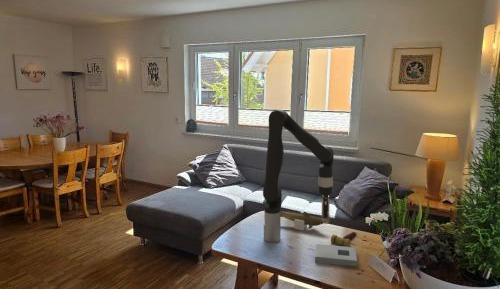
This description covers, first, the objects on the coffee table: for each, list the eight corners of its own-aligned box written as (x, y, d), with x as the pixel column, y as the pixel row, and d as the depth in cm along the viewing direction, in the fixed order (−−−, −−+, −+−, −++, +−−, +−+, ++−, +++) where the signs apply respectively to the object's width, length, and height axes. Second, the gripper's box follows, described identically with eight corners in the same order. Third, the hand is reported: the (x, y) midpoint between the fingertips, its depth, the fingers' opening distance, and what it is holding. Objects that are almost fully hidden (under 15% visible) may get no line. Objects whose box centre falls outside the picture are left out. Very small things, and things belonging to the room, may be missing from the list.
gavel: (348, 226, 196) (364, 231, 189) (348, 234, 197) (363, 239, 190) (330, 235, 181) (347, 241, 174) (330, 243, 182) (346, 249, 175)
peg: (321, 223, 171) (321, 202, 169) (321, 220, 175) (321, 199, 173) (329, 224, 170) (329, 202, 168) (329, 221, 174) (329, 199, 173)
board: (315, 262, 161) (315, 256, 161) (315, 249, 175) (316, 243, 174) (356, 266, 156) (357, 260, 156) (354, 252, 170) (354, 247, 169)
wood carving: (275, 219, 216) (275, 203, 214) (326, 229, 199) (327, 212, 197) (269, 224, 208) (269, 208, 206) (322, 235, 191) (323, 217, 190)
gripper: (318, 181, 177) (318, 210, 180) (318, 188, 164) (318, 220, 166) (332, 181, 176) (332, 211, 178) (333, 188, 162) (333, 221, 164)
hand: (325, 215), depth 172 cm, fingers closed on peg, 4 cm apart
